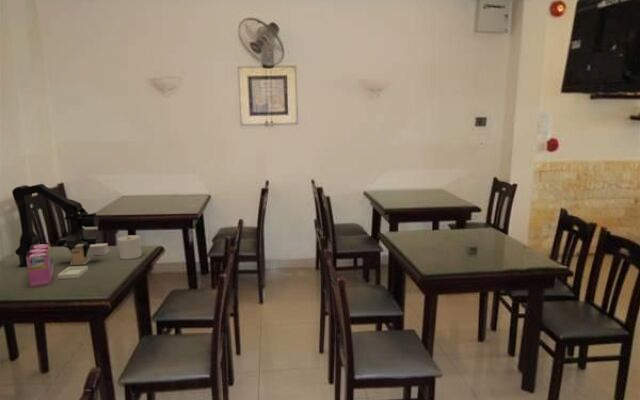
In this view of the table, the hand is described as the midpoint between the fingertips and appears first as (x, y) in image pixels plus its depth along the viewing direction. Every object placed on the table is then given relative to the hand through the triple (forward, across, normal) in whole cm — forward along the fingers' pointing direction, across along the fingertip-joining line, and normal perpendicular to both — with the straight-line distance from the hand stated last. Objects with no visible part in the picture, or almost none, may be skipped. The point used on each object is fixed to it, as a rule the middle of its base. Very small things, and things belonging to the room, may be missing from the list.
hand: (80, 257), depth 232 cm
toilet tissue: (+3, +22, +6) cm, 23 cm away
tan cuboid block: (+3, 0, 0) cm, 3 cm away
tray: (+2, +4, -18) cm, 19 cm away
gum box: (+3, -9, -20) cm, 22 cm away
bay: (+2, 0, +6) cm, 6 cm away
